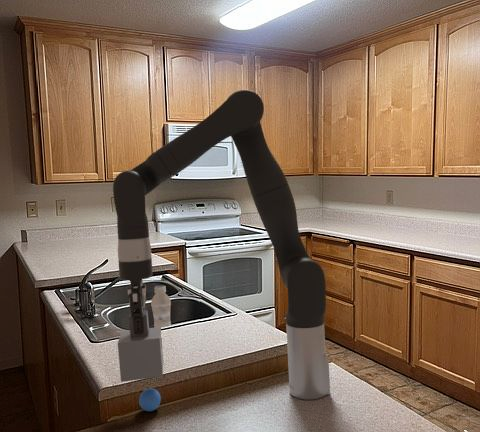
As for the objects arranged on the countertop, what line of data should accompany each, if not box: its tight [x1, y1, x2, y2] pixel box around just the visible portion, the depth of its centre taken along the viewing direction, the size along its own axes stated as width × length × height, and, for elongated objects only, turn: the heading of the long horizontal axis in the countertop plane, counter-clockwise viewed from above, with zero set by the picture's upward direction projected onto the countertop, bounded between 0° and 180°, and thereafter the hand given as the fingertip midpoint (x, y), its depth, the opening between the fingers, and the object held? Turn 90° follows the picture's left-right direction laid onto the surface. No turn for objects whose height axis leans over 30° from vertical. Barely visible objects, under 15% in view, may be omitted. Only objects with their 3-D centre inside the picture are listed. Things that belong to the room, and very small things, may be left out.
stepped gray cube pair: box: [117, 309, 164, 383], centre depth 108 cm, size 9×9×14 cm
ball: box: [138, 388, 162, 412], centre depth 109 cm, size 5×5×5 cm
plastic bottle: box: [150, 285, 172, 328], centre depth 156 cm, size 6×7×20 cm
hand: (139, 330), depth 108 cm, fingers closed on stepped gray cube pair, 4 cm apart
